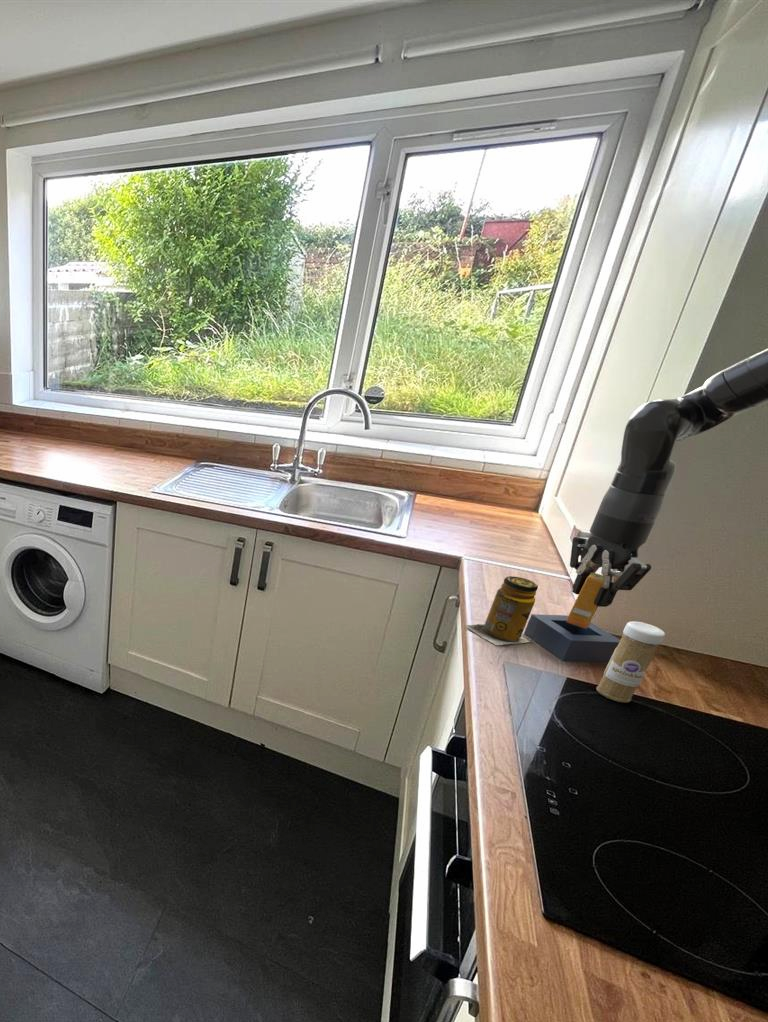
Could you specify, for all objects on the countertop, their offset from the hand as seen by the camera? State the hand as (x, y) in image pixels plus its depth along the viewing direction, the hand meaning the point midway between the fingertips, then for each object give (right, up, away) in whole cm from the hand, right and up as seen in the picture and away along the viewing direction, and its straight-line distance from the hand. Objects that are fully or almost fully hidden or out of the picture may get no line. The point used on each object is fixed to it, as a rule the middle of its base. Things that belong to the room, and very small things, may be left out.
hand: (589, 599), depth 109 cm
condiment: (-11, -8, +8) cm, 16 cm away
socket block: (0, -10, +4) cm, 11 cm away
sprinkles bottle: (-5, -16, -10) cm, 19 cm away
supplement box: (0, -5, +2) cm, 5 cm away
